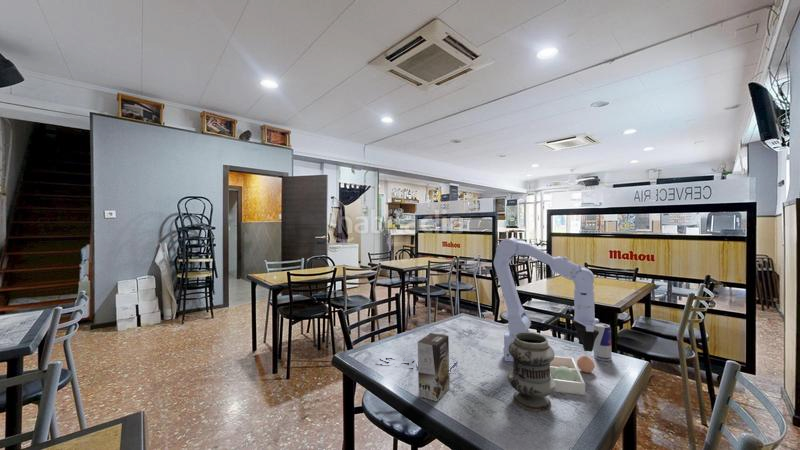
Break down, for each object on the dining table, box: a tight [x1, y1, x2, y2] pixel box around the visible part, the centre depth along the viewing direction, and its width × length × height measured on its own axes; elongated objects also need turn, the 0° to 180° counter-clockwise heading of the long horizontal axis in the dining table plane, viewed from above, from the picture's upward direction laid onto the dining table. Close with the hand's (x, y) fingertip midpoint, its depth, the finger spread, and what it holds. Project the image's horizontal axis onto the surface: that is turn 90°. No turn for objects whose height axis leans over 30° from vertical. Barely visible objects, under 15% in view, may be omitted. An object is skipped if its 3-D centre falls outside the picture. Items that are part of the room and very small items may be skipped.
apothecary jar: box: [508, 331, 556, 412], centre depth 88 cm, size 12×12×18 cm
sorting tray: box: [550, 355, 586, 397], centre depth 99 cm, size 9×18×3 cm, turn 161°
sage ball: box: [555, 366, 574, 381], centre depth 95 cm, size 5×5×5 cm
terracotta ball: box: [576, 355, 596, 374], centre depth 103 cm, size 5×5×5 cm
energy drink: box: [593, 322, 612, 362], centre depth 113 cm, size 5×5×12 cm
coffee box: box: [417, 332, 451, 402], centre depth 94 cm, size 9×6×16 cm
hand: (585, 346), depth 103 cm, fingers open, 7 cm apart
